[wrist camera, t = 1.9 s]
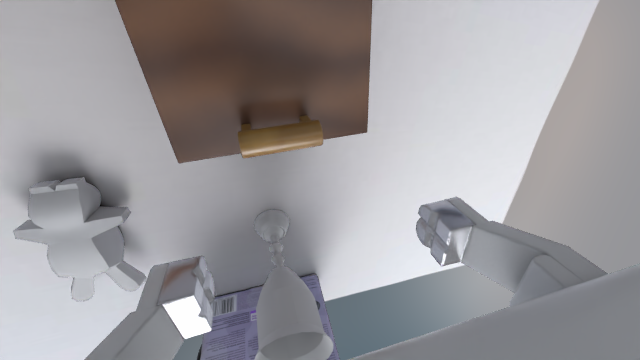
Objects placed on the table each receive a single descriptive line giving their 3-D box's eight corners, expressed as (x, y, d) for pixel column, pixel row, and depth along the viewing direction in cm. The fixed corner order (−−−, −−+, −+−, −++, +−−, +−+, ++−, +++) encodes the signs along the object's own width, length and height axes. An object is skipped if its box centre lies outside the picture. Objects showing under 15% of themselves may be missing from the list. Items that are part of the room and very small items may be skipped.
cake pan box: (206, 317, 44) (191, 464, 30) (197, 299, 42) (177, 451, 27) (317, 289, 48) (352, 407, 34) (316, 271, 46) (354, 390, 31)
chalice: (235, 227, 37) (234, 370, 22) (269, 194, 35) (294, 322, 21) (274, 249, 41) (296, 382, 26) (306, 220, 39) (348, 343, 24)
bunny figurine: (101, 186, 25) (147, 300, 32) (122, 167, 30) (159, 270, 36) (-25, 201, 23) (52, 320, 29) (18, 178, 28) (77, 285, 34)
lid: (363, 129, 24) (389, 151, 20) (180, 159, 21) (167, 191, 17) (369, -70, 17) (410, -98, 13) (93, -68, 14) (36, -102, 10)
